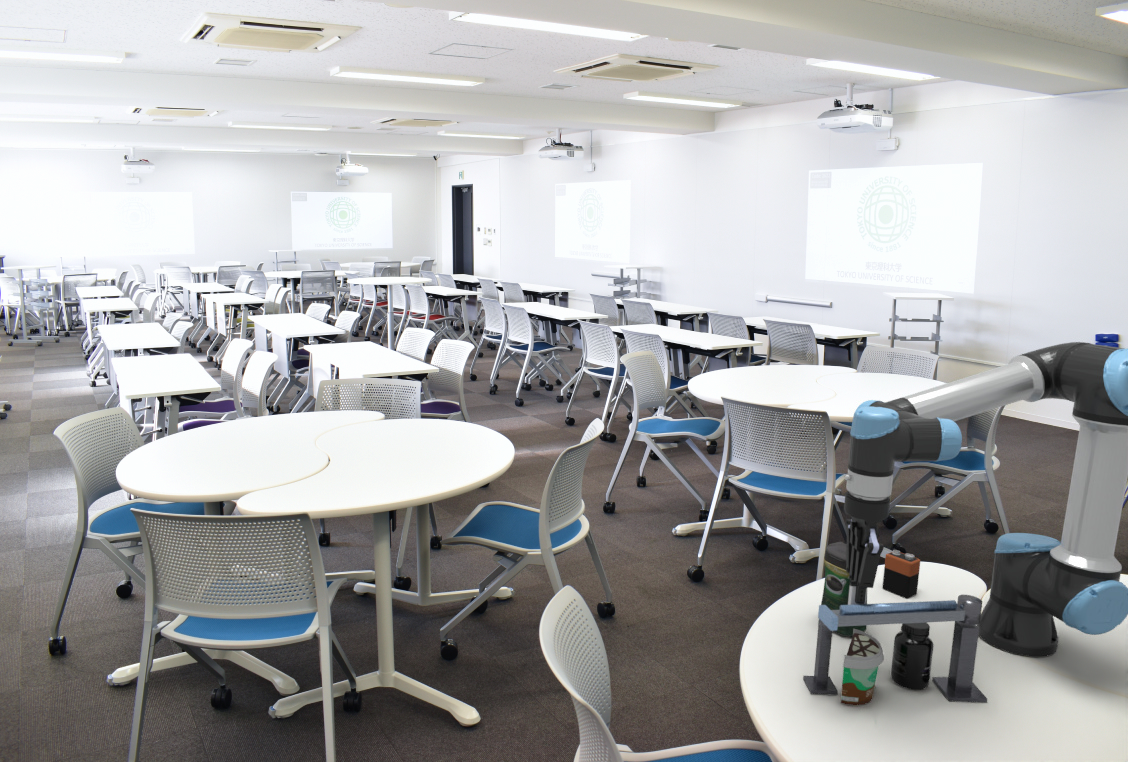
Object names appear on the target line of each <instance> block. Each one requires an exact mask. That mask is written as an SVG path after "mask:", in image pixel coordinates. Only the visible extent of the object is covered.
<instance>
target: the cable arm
mask: <svg viewBox="0 0 1128 762" xmlns="http://www.w3.org/2000/svg"><path fill="white" fill-rule="evenodd" d="M982 608H983V600H982V599H980V598H979V597H977V596H974V595H971V594H960V595H958V597H957V601H956V600H955V599H953V600H951V599H950V600H931V601H927V600H926V601H906V602H905V601H904V602H903V601H902V602H887V603H885V602H883V603H867V604H855V605H840V610H830V609H829V608H828V607H827V606H826V605H821V604H819V605H818V611H817V612H818V614H817V617H818V620H819V619H820V620H821V621H822V622H823V623H824V624H825V625H826V626H827V627H828V628H829V629H830V630H831V631H832V632H834V631H835V630H837V627H841V626H862V625H867V626H877V625H879V626H881V625H900V624H901V625H902V624H905V623H926V622H927V623H943V622H945V623H946V622H955V621H960V622H962V623H965V624H969V625H976V626H977V624H979V623H980V617H981V613H982V610H983V609H982Z"/></svg>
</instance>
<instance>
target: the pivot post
mask: <svg viewBox="0 0 1128 762" xmlns="http://www.w3.org/2000/svg"><path fill="white" fill-rule="evenodd" d="M951 642H952V643H951V644H952V645H951V649H950V661H949V669H948V675H947V676H932V677H931V681H932V683H933V684H934V685H935V687H937V689H938V690H939V692H940V693H942V695H943V696H944V698H945V699H946V700H947V702H956V703H981V704H988V698H987V696H986V695H985V694H984V693H983V692H982V691H981V690H980V688H978V687H977V685H976V684H975V682H973V679H974V674H975V673H974V672H975V664H976V657H977V649H978V642H979V628H978V627H977V625H969V624H965V623H962V622H960V621H954V625H953V634H952V641H951Z"/></svg>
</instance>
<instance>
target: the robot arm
mask: <svg viewBox="0 0 1128 762" xmlns="http://www.w3.org/2000/svg"><path fill="white" fill-rule="evenodd" d="M1008 361H1009V362H1007V364H1004V365H1001V366H998V367H995V368H992V369H989V370H984V371H981V372H979V373H975V374H973V375H970V376H966V377H962V378H960V379H956V380H954V381H950V382H948V383H944V384H941V385H938V386H933V387H931V388H928V389H925V390H921V391H918V392H915V393H912V394H909V395H906V396H902V397H899V398H895V399H892V400H888V401H881V400H876V399H871V400H869V399H868V400H865V401H863V402H862V403H860V404H859V405H858V406H857V408H856V409H855V411H854V412H853V417H852V423H851V429H850V432H849V434H850V441H849V453H848V463H847V464H848V466H847V474H846V475H845V476H844V480H845V481H846V485H845V486H846V487H845V488H846V490H847V491H846V492H845V494H844V504H843V511H844V513H845V514H846V515H847V516H848V517H851V518H850V519H849V518H846V519H845V529H846V544H847V549H846V571H847V573H849V579H850V580H851V581H850V588H849V598H848V605H855V604H866V596H867V597H868V588H869V589H870V588H871V589H873V588H874V585H875V580H876V577H877V572H878V566H879V563H880V558H881V554H882V553H883V551H884V547H885V546H884V543H883V542H878V538H879V536H880V528H879V523H880V522H882V521H884V520H886V519H888V518H889V515H890V505H891V498H890V496H891V495H892V490H893V481H894V480H893V479H894V471H895V470H894V469H895V463H896V462H897V463H899V462H900V463H903V462H936V463H937V462H940V461H941V462H942V461H948V460H952V459H954V458H956V457H957V456H958V455H959V453H960V451H961V449H962V444H963V443H962V441H963V436H962V434H963V433H962V431H961V428H960V427H959V425H958V424H957V423H956V422H957V421H959V420H962V419H963V420H964V419H966V418H970V417H972V416H976V415H979V414H981V413H985V412H988V411H992V410H995V409H998V408H1000V407H1004V406H1008V405H1011V404H1014V403H1017V402H1020V401H1024V402H1028V403H1034V402H1038V401H1041V400H1046V399H1048V400H1049V399H1050V400H1051V399H1053V400H1055V399H1056V400H1057V399H1058V400H1066V401H1069V402H1072V403H1073V407H1072V413H1071V414H1072V415H1071V416H1072V418H1073V419H1074V420H1075V421H1076V422H1077V423H1078V424H1079V430H1078V436H1077V441H1076V442H1077V443H1076V448H1075V455H1074V461H1073V466H1072V467H1073V468H1072V474H1071V481H1070V485H1069V492H1068V497H1067V498H1068V499H1067V502H1066V503H1067V504H1066V509H1065V515H1064V521H1063V528H1062V533H1061V540H1058V539H1056V538H1053V537H1050V536H1048V535H1042V534H1036V533H1026V532H1010V533H1003V534H1002V535H1001V536H999V537H998V539H997V542H996V547H995V550H994V551H993V552H994V557H993V564H992V573H991V582H990V592H989V598H988V601H987V602H986V604H985V606H984V607H983V609H982V610H981V617H980V623H979V624H977V625H976V626H977V627H978V628H979V635H978V638H980V639H982V640H983V641H984V642H985V643H987V644H988V645H990V646H992V647H994V648H996V649H999V650H1002V651H1004V652H1007V653H1011V654H1013V655H1014V654H1015V655H1018V656H1023V657H1031V658H1042V657H1043V658H1044V657H1050V656H1052V655H1054V654H1056V653H1057V650H1058V646H1059V635H1058V632H1057V627H1056V623H1055V618H1056V619H1057V620H1060V621H1061V622H1063V623H1064V624H1065V625H1066V626H1068V627H1070V628H1071V629H1075V630H1077V631H1079V632H1081V633H1083V634H1086V635H1091V636H1097V635H1103V634H1107V633H1109V632H1112V630H1115V628H1116V627H1118V626H1119V625H1121V624H1122V623H1123V622H1124V621H1125V620H1126V619H1127V616H1128V587H1127V586H1126V584H1124V583H1123V582H1121V581H1120V580H1121V573H1122V567H1123V566H1122V564H1121V563H1120V562H1119V560H1118V559H1117V558H1116V557H1115V550H1116V546H1117V540H1118V539H1117V538H1118V534H1119V529H1120V528H1119V527H1120V522H1121V517H1122V510H1123V506H1124V505H1123V504H1124V499H1125V494H1126V489H1127V483H1128V348H1124V347H1117V346H1109V345H1101V344H1093V343H1091V342H1083V341H1074V342H1073V341H1072V342H1065V343H1059V344H1055V345H1050V346H1046V347H1043V348H1039V349H1036V350H1035V349H1034V350H1032V351H1028V352H1026V353H1021V354H1019V355H1016V356H1013V357H1012V358H1011V359H1010V360H1008ZM1054 617H1055V618H1054Z"/></svg>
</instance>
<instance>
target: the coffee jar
mask: <svg viewBox="0 0 1128 762" xmlns="http://www.w3.org/2000/svg"><path fill="white" fill-rule="evenodd" d="M846 549H847V543H844V542H843V541H837V542H833V543H829V544H828V545H827V547H826V549H825V553H824V557H823V564H824V571H825V572H824V583H823V590H822V591H823V592H822V597H821V601H820V602H821V604H820V605H826V606H827V607H828V608H829V609H830V610H840V605H848V598H849V588H850V581H851V580H850V579H849V573H847V571H846ZM866 604H868V595H867V596H866ZM819 620H820V619H819V618H818V621H819ZM867 627H868V625H862V626H841V627H837V630H835V631H833V632H834V633H836V634H839V635H840V636H842V637H843V636H844V637H853V629H857V630H860V631H863V632H865V633H866V631H867Z"/></svg>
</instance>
